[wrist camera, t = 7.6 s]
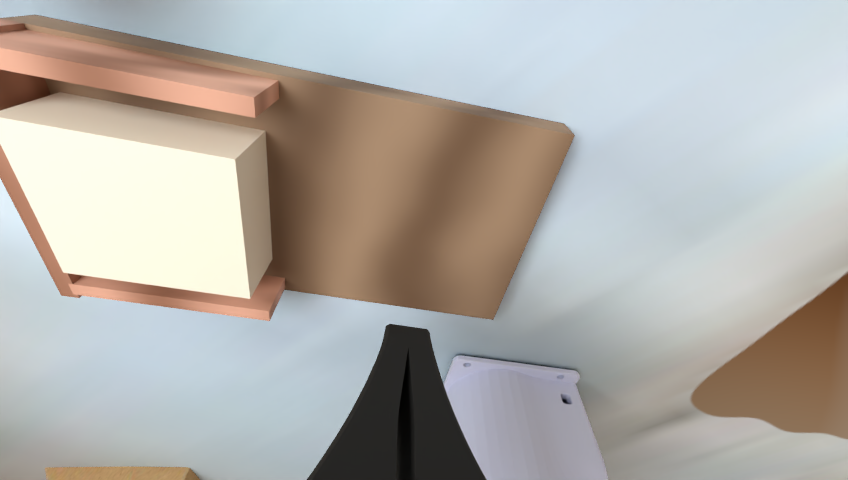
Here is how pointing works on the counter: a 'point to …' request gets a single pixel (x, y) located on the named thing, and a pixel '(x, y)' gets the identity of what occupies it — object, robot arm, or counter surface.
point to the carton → (144, 192)
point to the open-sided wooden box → (316, 170)
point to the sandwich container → (120, 473)
